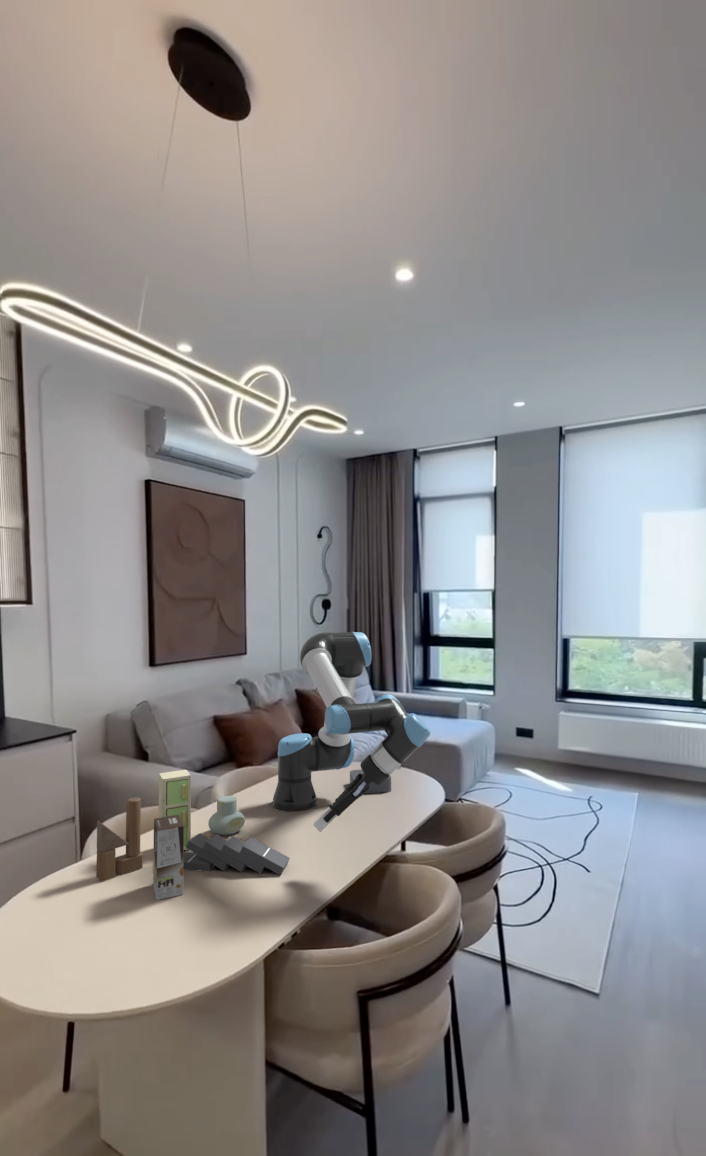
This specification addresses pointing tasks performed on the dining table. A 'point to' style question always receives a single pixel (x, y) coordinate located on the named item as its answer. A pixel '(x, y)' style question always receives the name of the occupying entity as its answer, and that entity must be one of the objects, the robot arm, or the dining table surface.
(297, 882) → the dining table surface
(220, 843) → the domino
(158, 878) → the coffee box
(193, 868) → the domino
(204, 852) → the domino
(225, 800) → the air freshener
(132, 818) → the brown angular blocky piece
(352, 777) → the streaming box
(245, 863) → the domino
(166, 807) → the toy refrigerator
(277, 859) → the domino
